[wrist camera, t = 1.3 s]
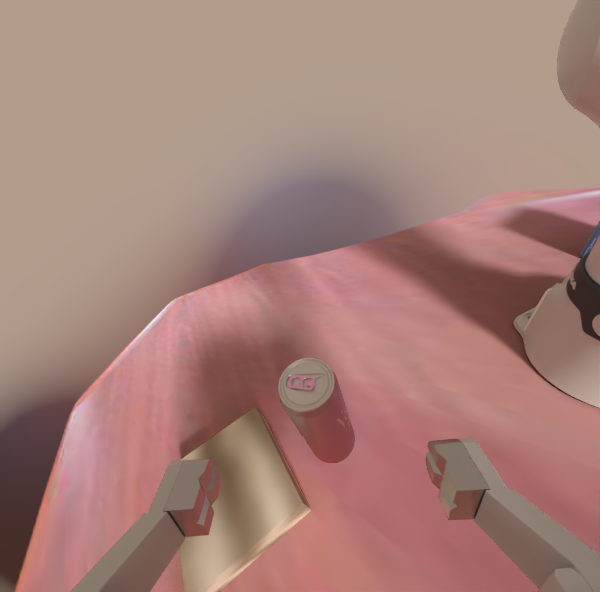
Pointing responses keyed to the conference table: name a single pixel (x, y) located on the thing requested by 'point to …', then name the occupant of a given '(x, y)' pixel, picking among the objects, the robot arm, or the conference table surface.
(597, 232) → the ink cartridge box
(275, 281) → the conference table surface
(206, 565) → the ash base block
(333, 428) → the beverage can
